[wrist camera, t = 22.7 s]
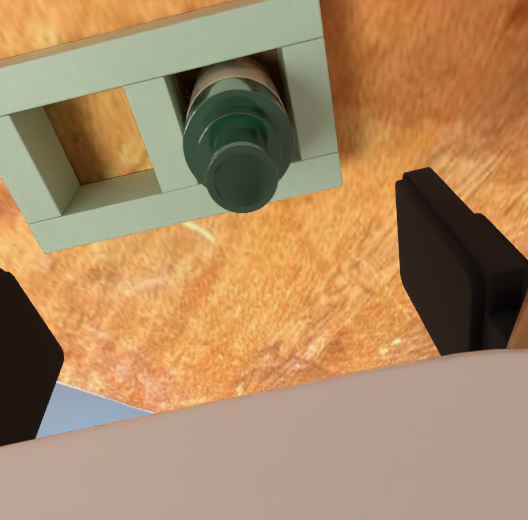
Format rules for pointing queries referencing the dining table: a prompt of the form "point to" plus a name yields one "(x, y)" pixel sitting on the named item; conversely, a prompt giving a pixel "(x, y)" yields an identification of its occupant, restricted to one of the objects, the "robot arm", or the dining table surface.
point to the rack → (157, 117)
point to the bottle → (237, 134)
